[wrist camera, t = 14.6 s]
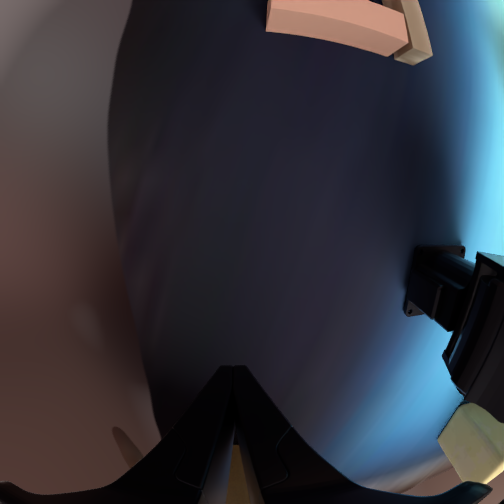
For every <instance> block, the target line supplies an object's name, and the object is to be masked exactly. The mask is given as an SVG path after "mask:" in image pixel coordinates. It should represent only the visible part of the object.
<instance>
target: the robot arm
mask: <svg viewBox="0 0 504 504" xmlns="http://www.w3.org/2000/svg"><path fill="white" fill-rule="evenodd" d="M420 250H421V252H420V254H419V251H420ZM464 256H465V247H464V246H463V245H419V246H417V247H416V248H415V251H414V258H413V264H412V271H411V276H410V282H409V287H408V293H407V298H406V303H405V308H404V314H405V315H406V316H408V317H410V316H416V315H422V314H425V315H427V316H428V317H429V318H430V319H432V320H434V321H436V322H437V323H438V324H439V325H440V326H441V327H443V328H444V329H445V330H446V331H447V332H450V331H451V332H452V336H451V338H450V341H449V343H448V345H447V348H446V350H444V352H443V354H442V358H443V360H444V362H445V364H446V366H447V369H448V371H449V373H450V375H451V380H452V382H453V384H454V385H455V386H456V388H457V390H458V391H459V393H460V394H462V395H463V396H464V400H466V401H469V402H471V403H474V404H476V405H478V406H480V407H481V408H483V409H485V410H486V411H487V412H488V413H490V414H491V415H492V416H493V417H494V418H495V419H496V420H497V421H498V422H500V423H504V256H501V255H495V254H490V253H484V252H478V251H477V254H476V258H475V259H476V263H473V262H470V261H468V260H466V259H464ZM409 310H410V311H409ZM408 311H409V312H408ZM235 426H236V433H237V438H238V444H239V449H240V454H241V459H242V464H243V469H244V474H245V479H246V484H247V489H248V493H249V498H250V502H251V504H478V503H479V502H480V501H481V500H483V498H485V497H486V496H487V495H488V494H489V493H490V492H491V491H492V490H493V489H492V488H491V487H490V486H488V485H486V484H484V483H480V482H473V481H465V482H463V483H461V484H459V485H457V486H455V487H454V488H452V489H450V490H448V491H446V492H444V493H442V494H439V495H435V496H413V495H404V494H398V493H392V492H386V491H380V490H375V489H370V488H366V487H363V486H361V485H359V484H357V483H355V482H353V481H351V480H350V479H349V478H347V477H346V476H345V475H343V474H342V473H341V472H340V471H338V470H337V469H336V468H335V467H333V466H332V465H331V464H330V463H329V462H327V461H326V460H325V459H324V458H323V457H321V456H320V455H319V454H318V453H317V452H316V451H315V450H314V449H313V448H312V447H310V446H309V445H308V444H307V442H306V441H305V440H304V439H303V438H302V437H301V436H300V435H299V433H298V432H297V431H296V430H295V429H294V427H292V425H291V424H290V423H289V421H288V420H287V419H286V418H285V416H284V415H283V414H282V413H281V411H280V410H279V409H278V407H277V406H276V405H275V404H274V402H273V401H272V400H271V398H270V397H269V396H268V394H267V393H266V392H265V391H264V389H263V388H262V387H261V385H260V384H259V383H258V381H257V380H256V378H255V377H254V376H253V374H252V373H251V372H250V370H249V369H248V368H247V366H245V365H235V366H234V367H233V366H231V365H227V366H220V367H219V368H218V369H217V371H216V372H215V373H214V375H213V376H212V377H211V379H210V380H209V381H208V383H207V384H206V385H205V386H204V388H203V389H202V390H201V392H200V393H199V394H198V395H197V397H196V398H195V399H194V400H193V402H192V403H191V404H190V406H189V407H188V408H187V409H186V411H185V412H184V413H183V414H182V416H181V417H180V418H179V419H178V421H177V422H176V423H175V424H174V426H173V428H171V429H170V430H169V431H168V433H167V434H166V435H165V436H164V437H163V439H162V440H161V441H160V442H159V443H158V444H157V445H156V446H155V447H154V448H153V449H152V450H151V451H150V452H149V453H148V454H147V455H146V456H145V457H143V458H142V459H141V460H140V461H139V462H138V463H137V464H135V465H134V466H133V467H132V468H131V469H130V470H128V471H127V472H126V473H125V474H124V475H122V476H121V477H120V478H119V479H117V480H116V481H114V482H113V483H111V484H109V485H107V486H104V487H101V488H97V489H91V490H85V491H79V492H71V493H62V494H53V495H52V494H51V495H40V494H34V493H30V492H27V491H25V490H23V489H21V488H19V487H18V486H16V485H15V484H13V483H11V482H9V481H1V482H0V504H226V496H227V488H228V480H229V472H230V464H231V456H232V448H233V440H234V432H235ZM499 504H504V499H503V500H502V501H501V502H500V503H499Z"/></svg>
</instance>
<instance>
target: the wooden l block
mask: <svg viewBox="0 0 504 504" xmlns="http://www.w3.org/2000/svg"><path fill="white" fill-rule="evenodd" d="M382 3H383V6H385V7H387V8H390V9H393V10H395V11H398V12H400V13H402V14H404V19H405V24H406V30H407V36H408V42H409V43H407V44H406V45H404V46H403V47H401V48H400V49H398V50H397V51H395V52H394V53H393V54H394V60H398V61H401V62H404V63H407V64H410V65H415V64H417V63H419V62H421V61H423V60H425V59H427V58H429V57H431V56H433V54H432V50H431V45H430V41H429V37H428V33H427V29H426V26H425V22H424V19H423V15H422V12H421V9H420V6H419V3H418V0H382Z"/></svg>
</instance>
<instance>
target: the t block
mask: <svg viewBox="0 0 504 504" xmlns="http://www.w3.org/2000/svg"><path fill="white" fill-rule="evenodd" d="M266 31H269V32H278V33H287V34H294V35H301V36H307V37H312V38H318V39H323V40H328V41H332V42H337V43H341V44H345V45H349V46H353V47H357V48H360V49H364V50H367V51H371V52H374V53H377V54H380V55H383V56H386V57H388V56H389V55H391V54H392V53H394V52H395V51H397V50H398V49H400V48H401V47H403V46H404V45H406V44H407V43H409V42H408V36H407V30H406V24H405V19H404V14H402V13H400V12H398V11H395V10H393V9H390V8H387V7H385V6H382V5H379V4H376V3H374V2H371V1H369V0H268V4H267V20H266Z"/></svg>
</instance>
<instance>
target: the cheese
mask: <svg viewBox="0 0 504 504" xmlns="http://www.w3.org/2000/svg"><path fill="white" fill-rule="evenodd" d="M438 443H439V444H440V446H441V448H442V449H443V451H444V452H445V454H446V456H447V457H448V459H449V460H450V462H451V463H452V465H453V467H454V468H455V470H456V472H457V473H458V475H459V477H460V478H461V480H462V482H465V481H473V482H480V483H484V484H487V483H488V482H489V481H491V480H492V479H493V478H495V477H496V476H497V475H499V474H500V473H501V472H502V471H503V470H504V423H500V422H498V421H497V420H496V419H495V418H494V417H493V416H492V415H491V414H490V413H488V412H487V411H486V410H485V409H483V408H481V407H480V406H478V405H476V404H474V403H468V404H463V405H461V406H460V407H459V408H458V409H457V410H456V412H455V413H454V415H453V416H452V418H451V419H450V421H449V422H448V424H447V425H446V427H445V428H444V430H443V431H442V433H441V434H440V436H439V438H438Z"/></svg>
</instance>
